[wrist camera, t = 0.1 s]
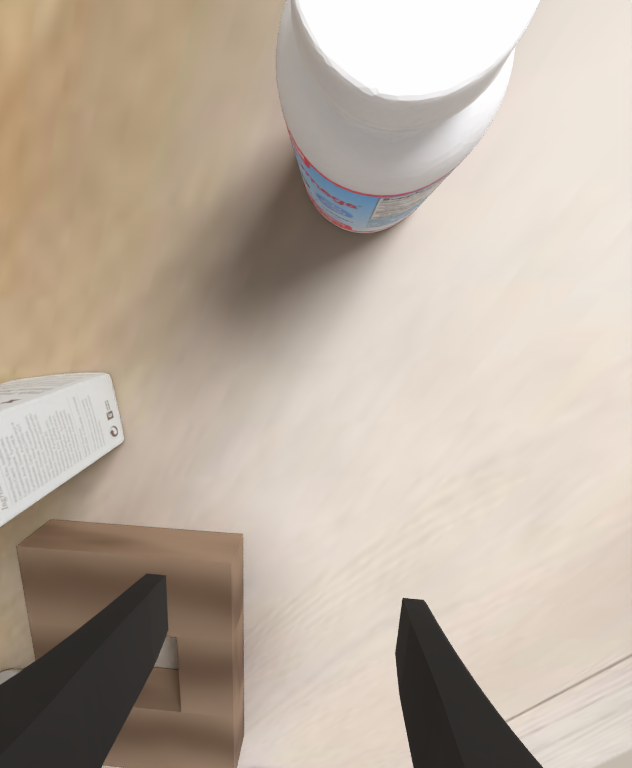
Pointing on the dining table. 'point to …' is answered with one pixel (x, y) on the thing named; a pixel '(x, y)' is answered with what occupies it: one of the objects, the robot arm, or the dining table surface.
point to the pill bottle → (390, 96)
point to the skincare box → (52, 434)
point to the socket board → (185, 621)
